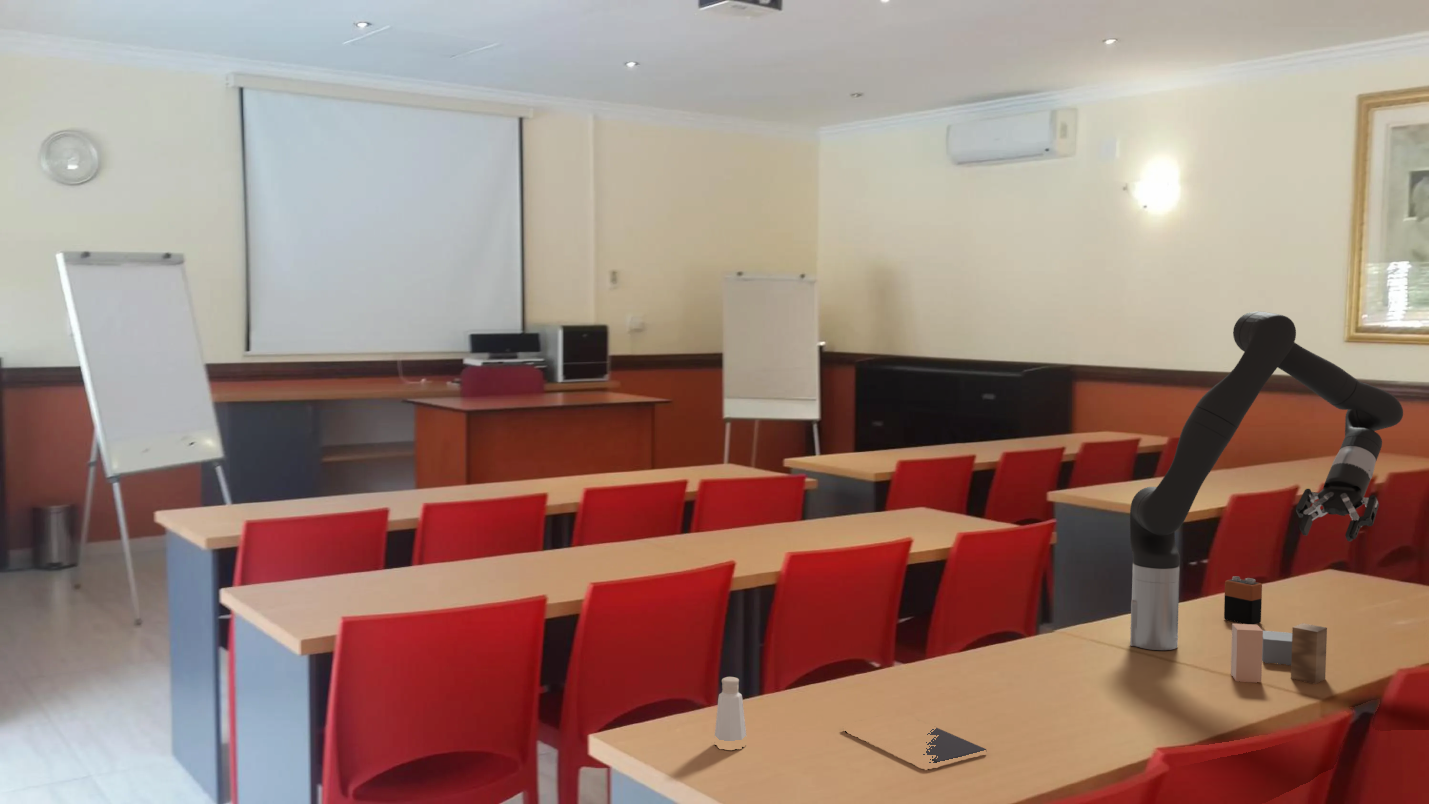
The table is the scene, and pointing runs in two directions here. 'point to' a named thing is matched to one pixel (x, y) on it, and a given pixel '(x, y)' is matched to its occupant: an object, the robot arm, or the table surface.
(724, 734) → the pepper shaker
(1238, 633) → the pale pink block
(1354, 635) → the table surface
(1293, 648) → the walnut block
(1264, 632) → the slate gray block
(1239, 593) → the battery
